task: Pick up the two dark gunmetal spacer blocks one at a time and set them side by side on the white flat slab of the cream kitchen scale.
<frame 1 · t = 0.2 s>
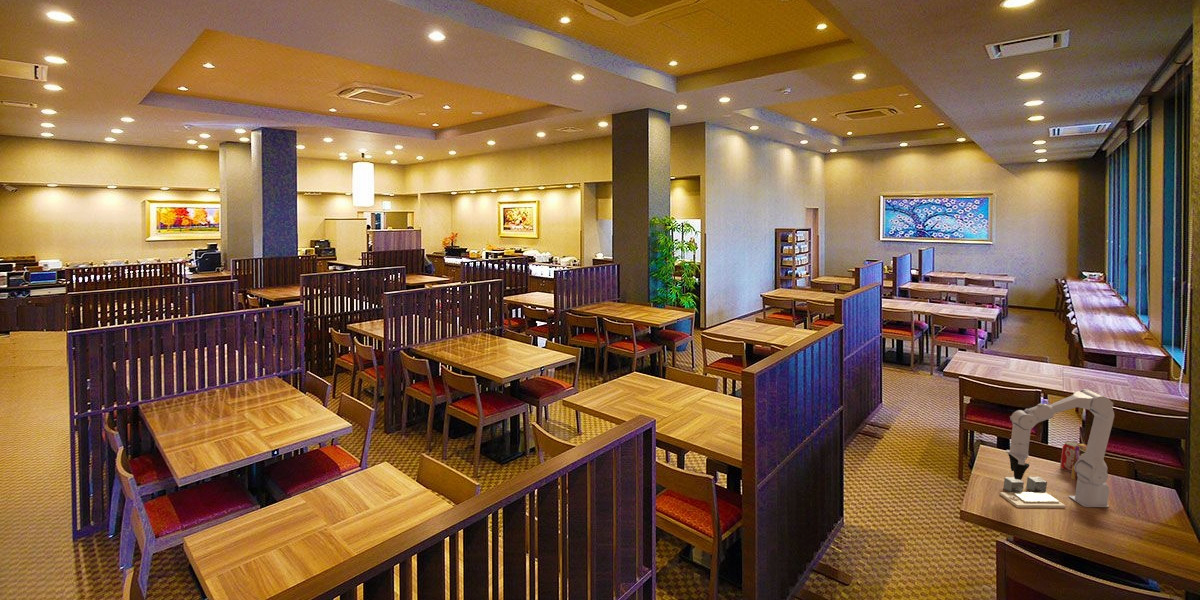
hand: (1016, 475, 229), 10 cm above the table, fingers open, 7 cm apart
spacer b: (1012, 491, 236), on the table
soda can: (1069, 470, 255), on the table
white flat slab: (1035, 497, 229), point 1 cm above the table, slide at -0.2 cm
scale base: (1031, 501, 228), on the table
candy box: (1084, 483, 243), on the table
spacer a: (1035, 490, 237), on the table
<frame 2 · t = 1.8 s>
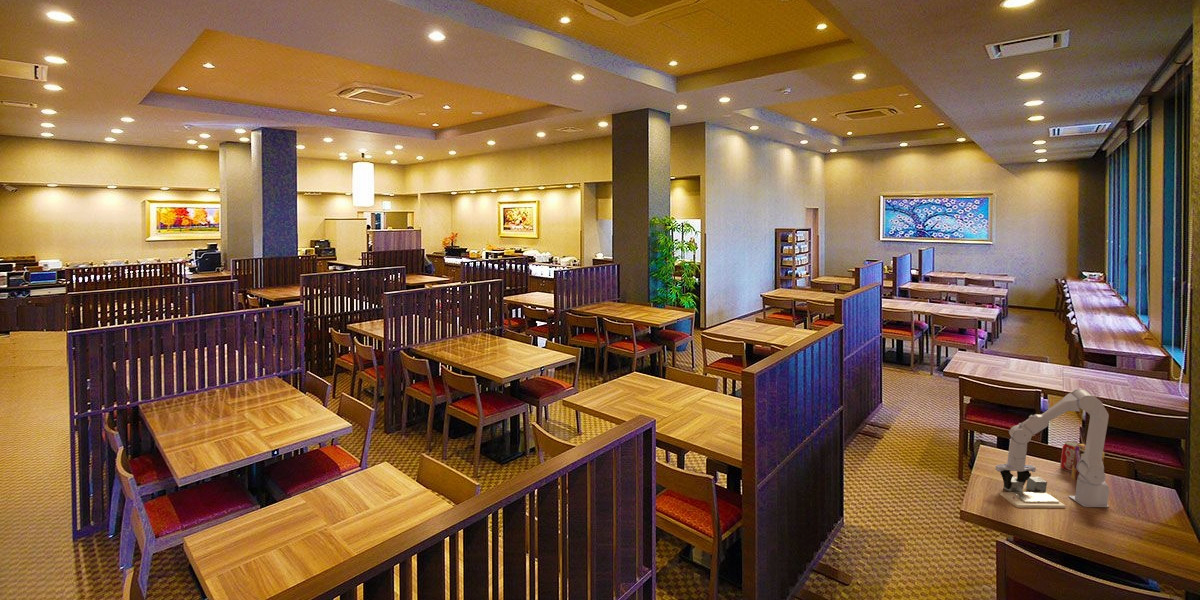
hand: (1013, 487, 236), 1 cm above the table, fingers closed on spacer b, 4 cm apart
spacer b: (1012, 491, 236), on the table, touching gripper
everything else where it was.
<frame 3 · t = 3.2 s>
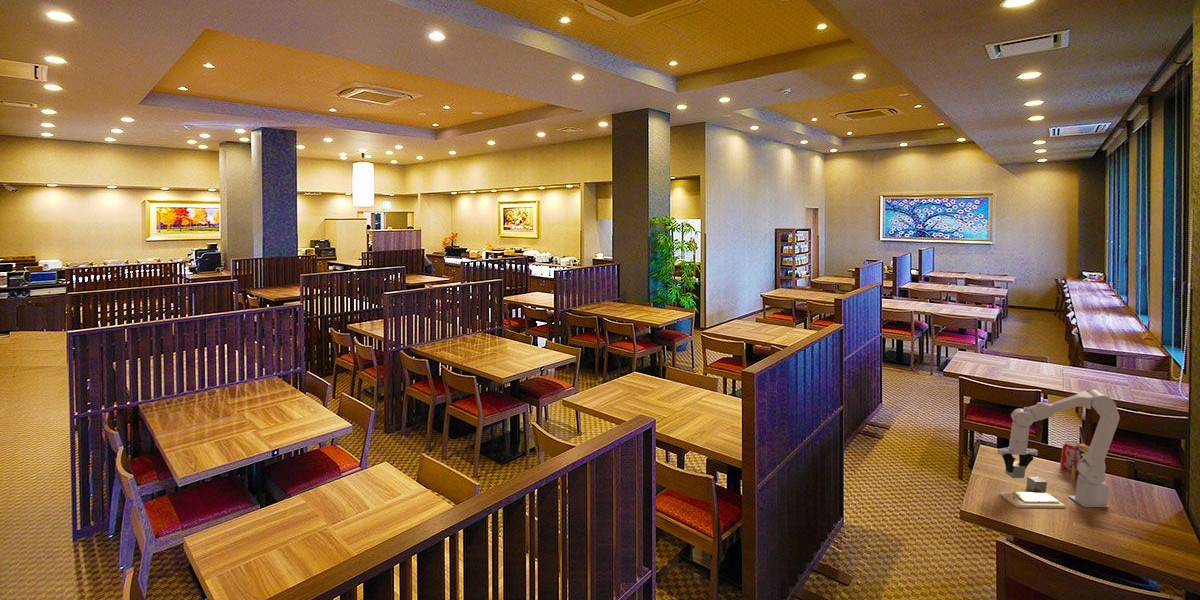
hand: (1015, 471, 235), 8 cm above the table, fingers closed on spacer b, 4 cm apart
spacer b: (1014, 475, 235), point 7 cm above the table, touching gripper
everything else where it was.
when the fingers open (4 cm above the table, at t = 4.9 s): spacer b stays where it is, resting on white flat slab.
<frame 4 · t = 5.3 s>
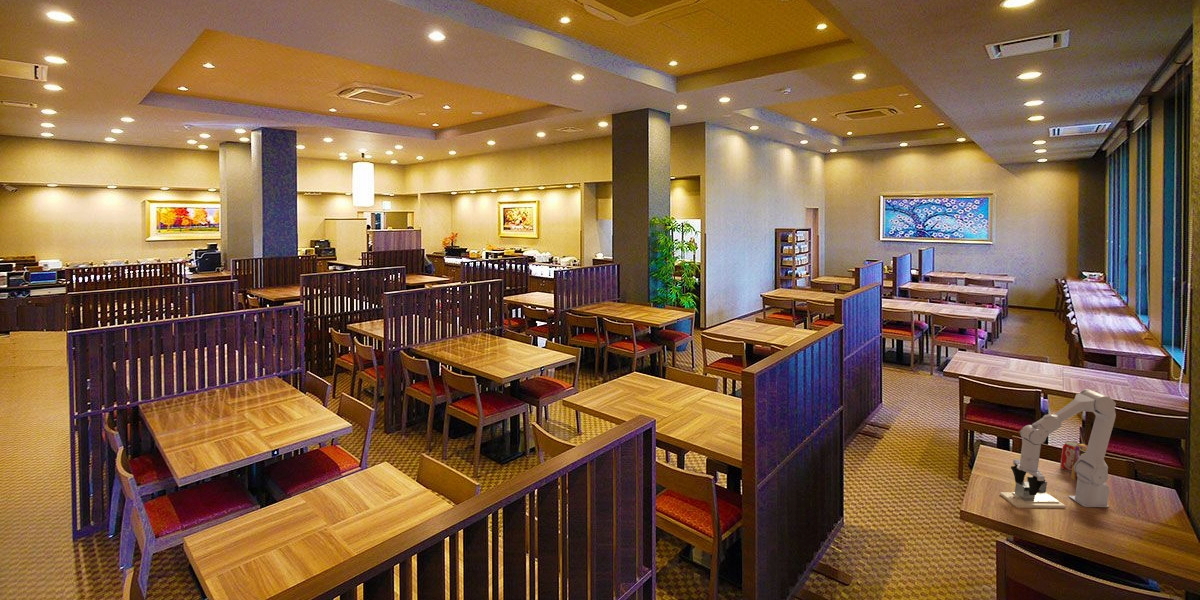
hand: (1025, 489, 228), 4 cm above the table, fingers open, 7 cm apart
spacer b: (1024, 496, 229), point 2 cm above the table, touching white flat slab
white flat slab: (1035, 497, 229), point 1 cm above the table, slide at -0.3 cm, touching spacer b
everything else where it was.
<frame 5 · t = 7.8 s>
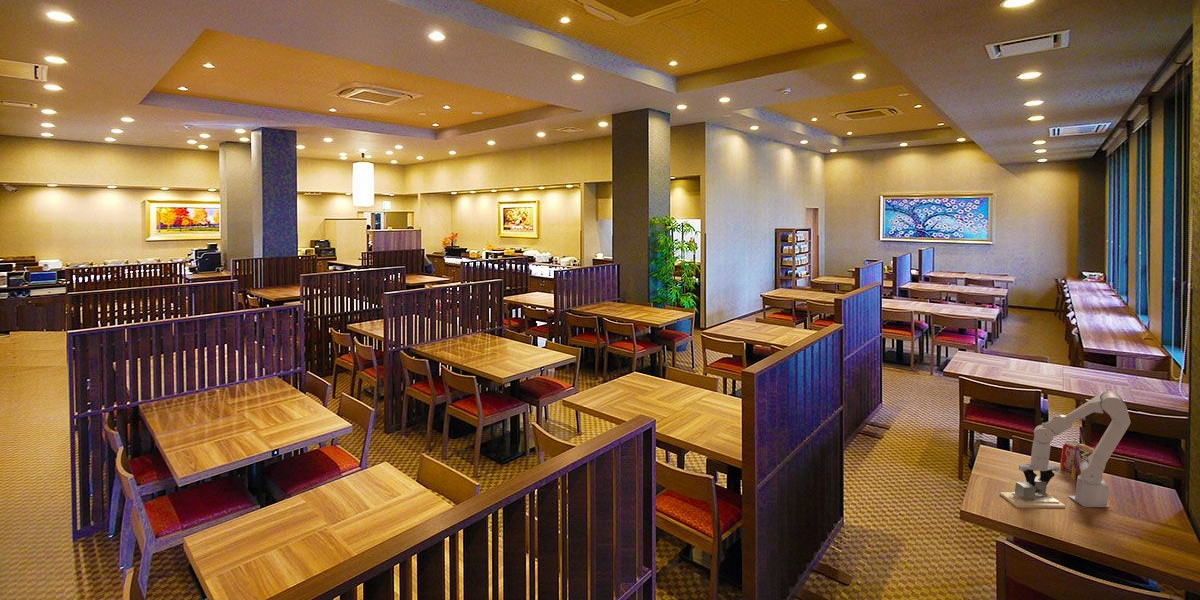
hand: (1036, 487, 236), 1 cm above the table, fingers closed on spacer a, 4 cm apart
spacer a: (1035, 490, 237), on the table, touching gripper
everything else where it was.
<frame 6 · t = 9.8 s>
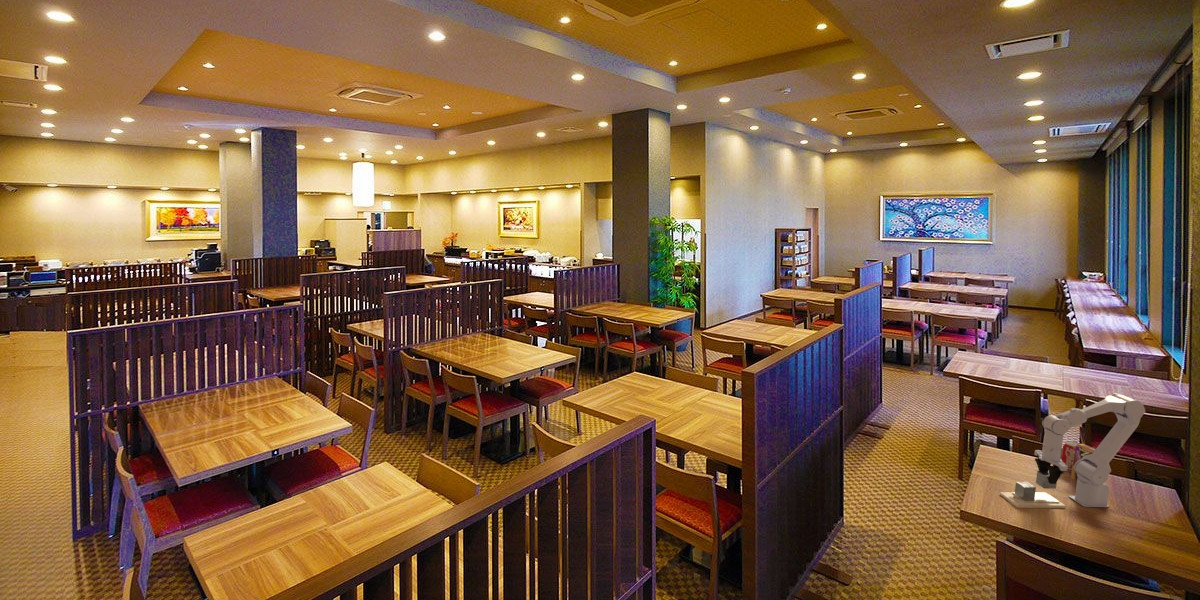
hand: (1047, 480, 227), 8 cm above the table, fingers closed on spacer a, 4 cm apart
spacer a: (1045, 485, 228), point 6 cm above the table, touching gripper
everything else where it was.
when the fingers open (4 cm above the table, at t = 11.0 s): spacer a stays where it is, resting on white flat slab.
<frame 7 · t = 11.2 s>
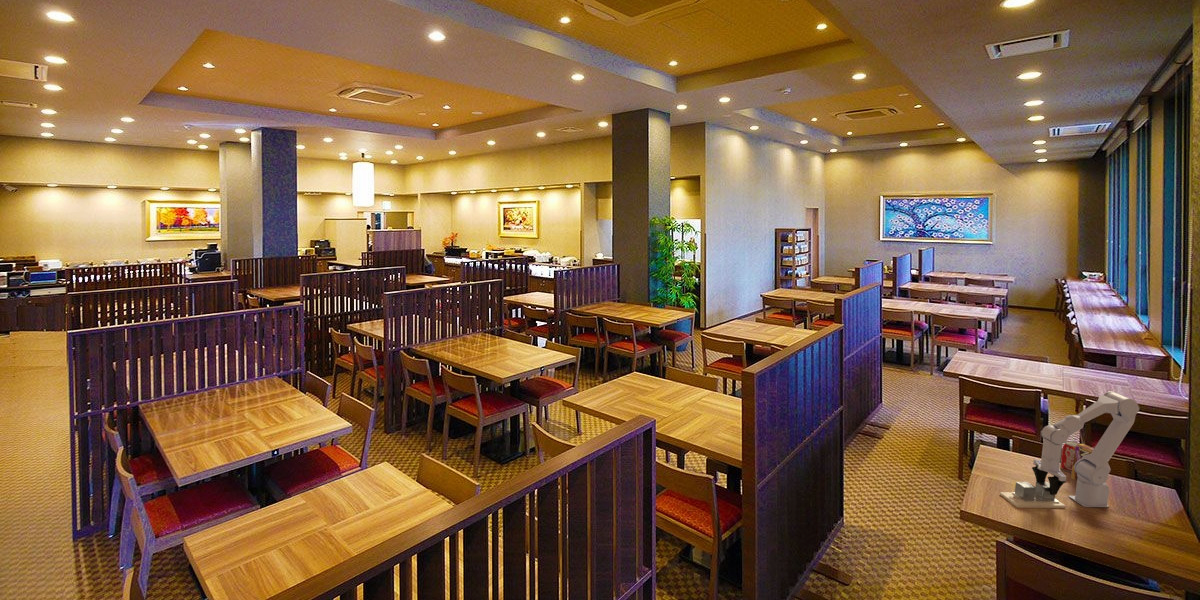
hand: (1046, 490, 228), 4 cm above the table, fingers open, 6 cm apart
white flat slab: (1035, 497, 229), point 1 cm above the table, slide at -0.3 cm, touching scale base, spacer a, spacer b
spacer a: (1044, 496, 229), point 2 cm above the table, touching white flat slab
everything else where it was.
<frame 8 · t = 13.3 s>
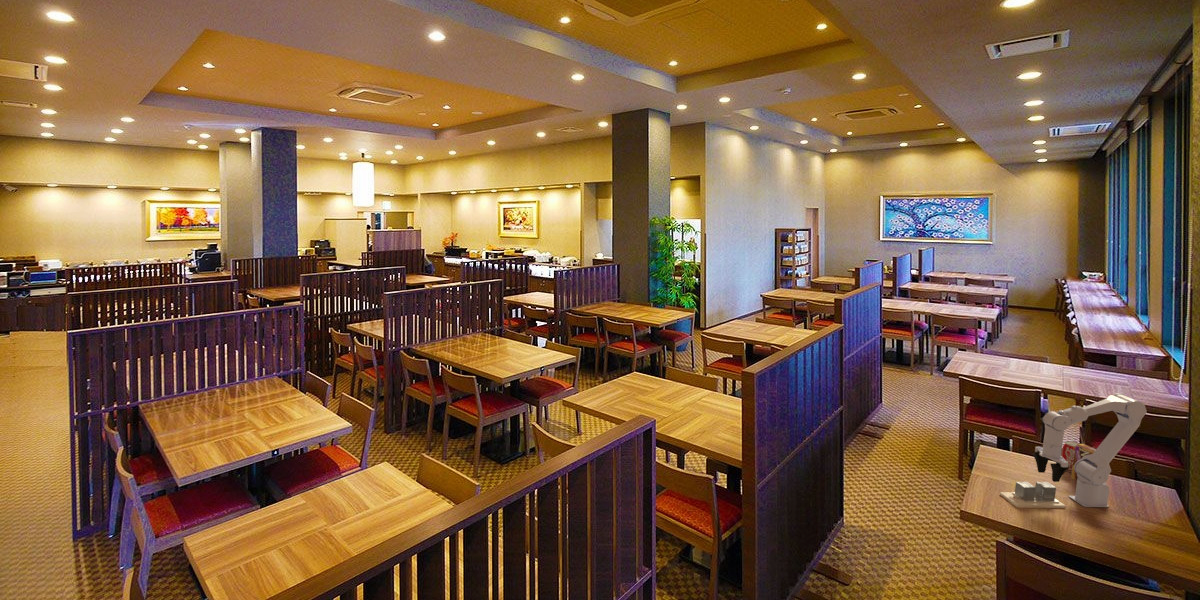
hand: (1048, 476, 227), 10 cm above the table, fingers open, 7 cm apart
nothing on the table moved.
at the end: spacer a inside the target area (3.8 cm from its centre), point 1.6 cm above the table; spacer b inside the target area (4.0 cm from its centre), point 1.6 cm above the table; spacer a tilted 0° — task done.
